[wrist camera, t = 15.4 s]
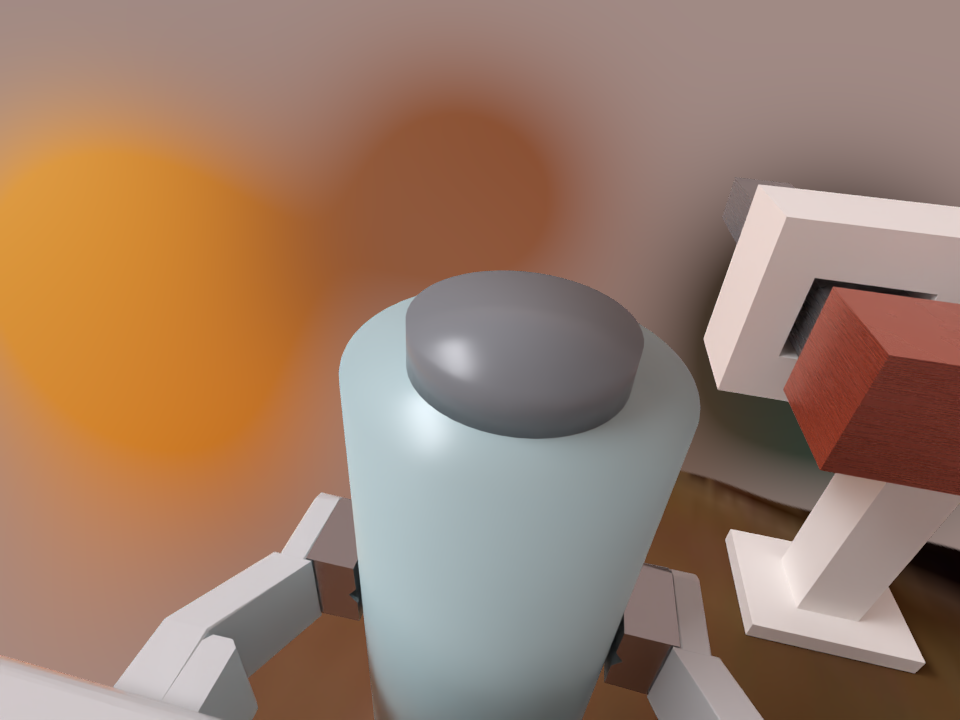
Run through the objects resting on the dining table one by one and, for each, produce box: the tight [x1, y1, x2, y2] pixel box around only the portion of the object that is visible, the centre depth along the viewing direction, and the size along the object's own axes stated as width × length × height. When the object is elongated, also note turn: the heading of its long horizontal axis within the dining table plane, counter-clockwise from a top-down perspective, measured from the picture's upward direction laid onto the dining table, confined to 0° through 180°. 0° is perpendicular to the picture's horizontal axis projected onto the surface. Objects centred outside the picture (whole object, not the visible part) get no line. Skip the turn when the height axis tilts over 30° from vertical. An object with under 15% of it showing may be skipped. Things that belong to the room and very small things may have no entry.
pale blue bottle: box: [339, 271, 700, 720], centre depth 11 cm, size 5×5×14 cm
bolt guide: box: [704, 184, 960, 673], centre depth 23 cm, size 14×6×21 cm, turn 78°
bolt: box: [722, 177, 960, 496], centre depth 22 cm, size 4×21×4 cm, turn 168°
